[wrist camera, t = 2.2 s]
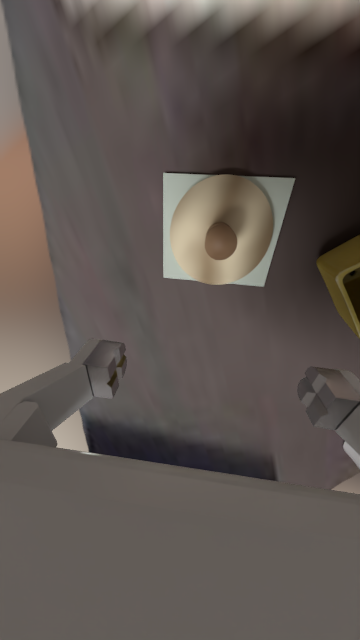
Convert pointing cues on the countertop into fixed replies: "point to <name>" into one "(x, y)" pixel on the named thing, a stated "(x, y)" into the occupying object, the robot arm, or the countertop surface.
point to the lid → (221, 229)
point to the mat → (182, 183)
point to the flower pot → (344, 280)
